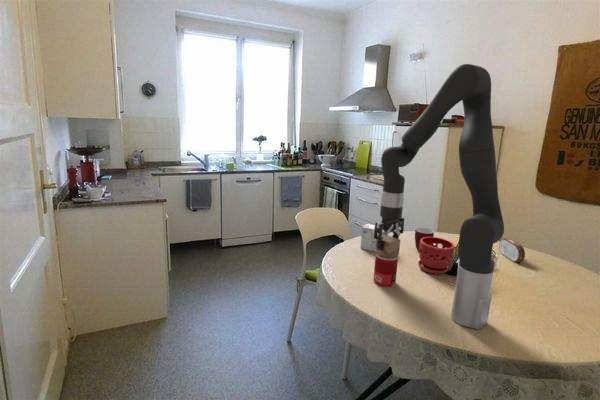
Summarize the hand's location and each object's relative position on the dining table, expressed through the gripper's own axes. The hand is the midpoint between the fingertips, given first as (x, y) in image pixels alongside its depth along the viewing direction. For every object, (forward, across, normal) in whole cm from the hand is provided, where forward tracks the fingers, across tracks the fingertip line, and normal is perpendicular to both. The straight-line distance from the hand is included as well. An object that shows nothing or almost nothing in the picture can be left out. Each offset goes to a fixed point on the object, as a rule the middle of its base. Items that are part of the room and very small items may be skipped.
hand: (387, 247), depth 128 cm
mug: (+14, +41, +10) cm, 44 cm away
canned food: (+14, 0, 0) cm, 14 cm away
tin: (+14, +66, -19) cm, 70 cm away
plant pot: (+14, +26, -5) cm, 30 cm away
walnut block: (+3, 0, 0) cm, 3 cm away
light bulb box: (+14, +24, +24) cm, 37 cm away
